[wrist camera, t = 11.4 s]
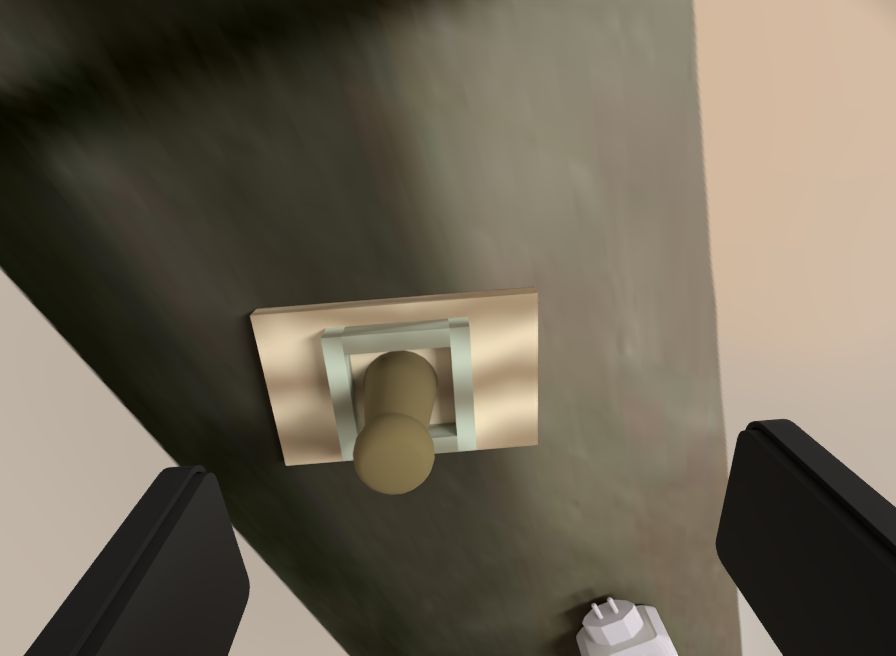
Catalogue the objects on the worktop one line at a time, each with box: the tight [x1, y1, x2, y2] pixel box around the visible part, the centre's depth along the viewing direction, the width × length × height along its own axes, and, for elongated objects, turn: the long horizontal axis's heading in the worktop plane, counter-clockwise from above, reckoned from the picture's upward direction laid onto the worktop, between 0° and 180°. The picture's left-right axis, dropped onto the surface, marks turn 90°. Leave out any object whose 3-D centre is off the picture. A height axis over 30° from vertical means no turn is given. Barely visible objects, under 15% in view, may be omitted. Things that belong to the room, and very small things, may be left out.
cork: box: [353, 350, 438, 495], centre depth 35 cm, size 6×6×11 cm
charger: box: [576, 597, 678, 656], centre depth 52 cm, size 5×9×15 cm
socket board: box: [250, 287, 538, 466], centre depth 40 cm, size 14×22×4 cm, turn 94°
